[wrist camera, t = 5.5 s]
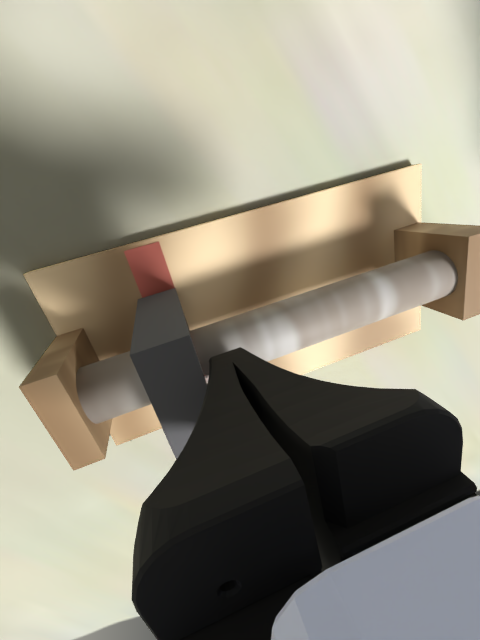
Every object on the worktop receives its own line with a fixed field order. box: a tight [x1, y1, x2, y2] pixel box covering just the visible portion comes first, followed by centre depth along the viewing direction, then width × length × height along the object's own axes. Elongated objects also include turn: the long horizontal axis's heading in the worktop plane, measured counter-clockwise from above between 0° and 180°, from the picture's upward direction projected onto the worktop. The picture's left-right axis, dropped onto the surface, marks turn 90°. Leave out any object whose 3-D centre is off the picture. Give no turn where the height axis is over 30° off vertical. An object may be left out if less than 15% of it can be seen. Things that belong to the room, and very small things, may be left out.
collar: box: [130, 288, 207, 460], centre depth 13 cm, size 2×5×6 cm, turn 14°
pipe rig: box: [19, 164, 480, 470], centre depth 15 cm, size 20×10×5 cm, turn 104°
